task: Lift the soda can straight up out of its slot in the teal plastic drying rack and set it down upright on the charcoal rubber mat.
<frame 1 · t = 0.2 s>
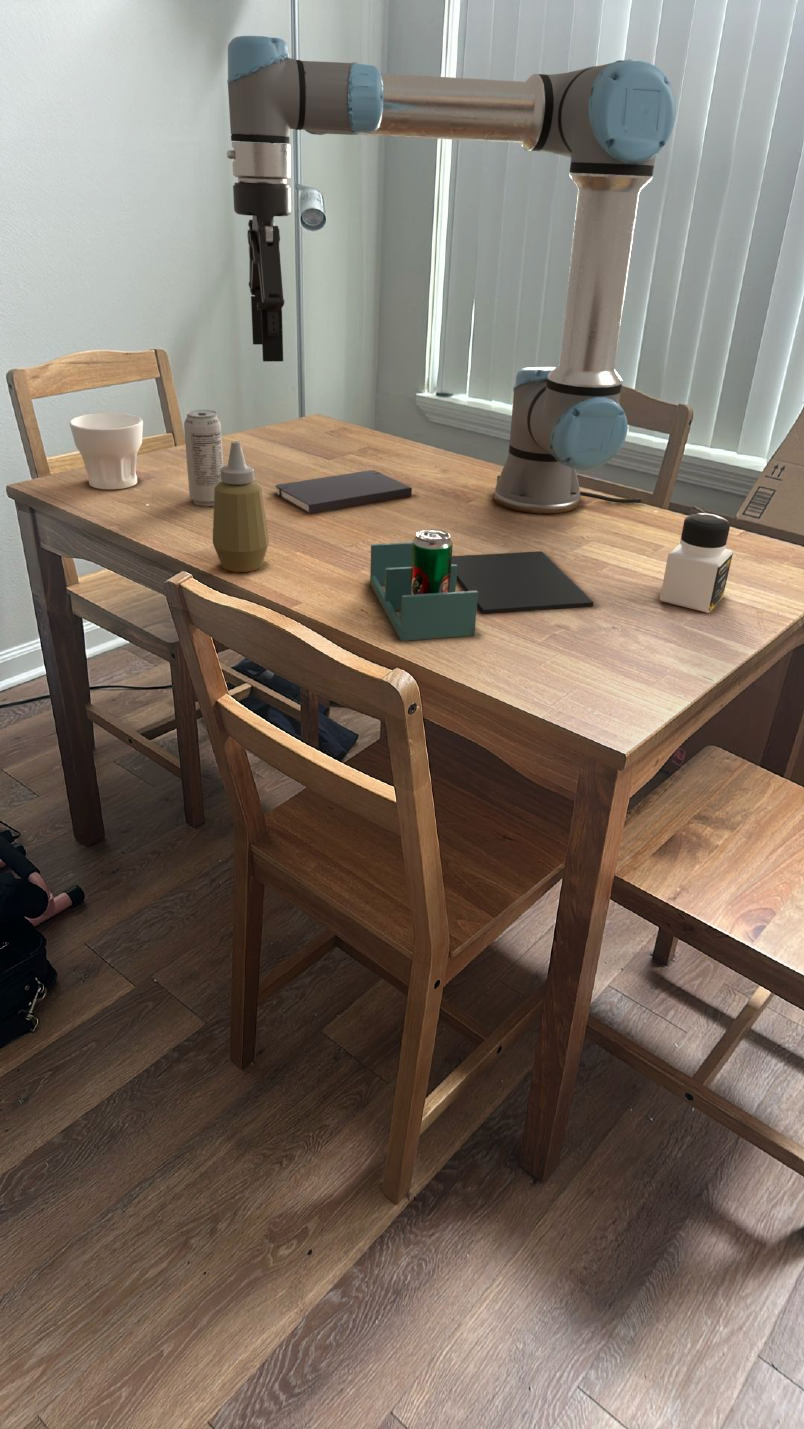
hand: (267, 352, 135), 28 cm above the table, tool pointing down, fingers open, 13 cm apart
notebook: (343, 495, 170), on the table
mat: (514, 582, 137), on the table
medicine bottle: (691, 600, 134), on the table
squeeze bottle: (242, 567, 139), on the table
cup: (113, 484, 172), on the table
drying rack: (419, 608, 128), on the table
energy drink can: (207, 502, 164), on the table
soda can: (428, 623, 124), resting in drying rack
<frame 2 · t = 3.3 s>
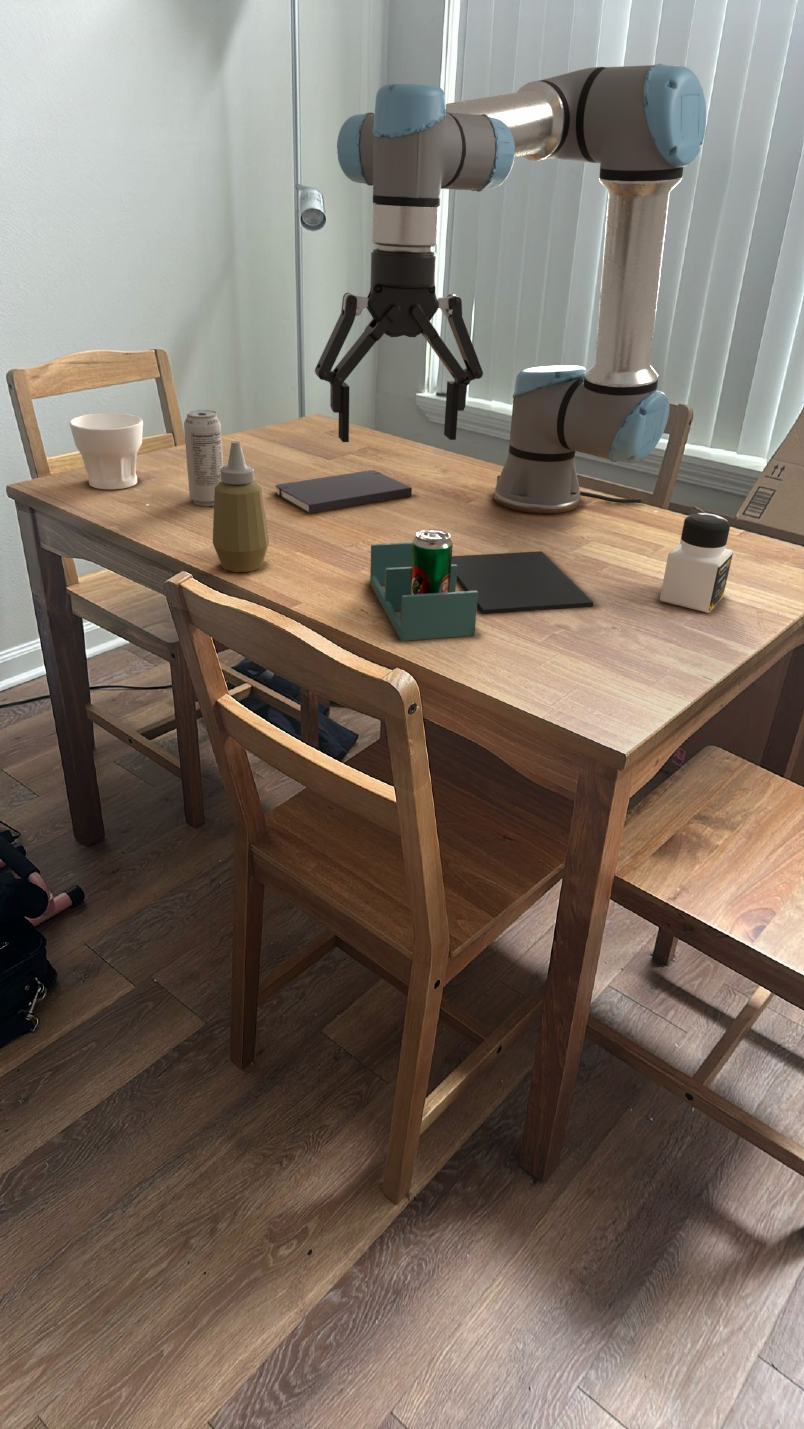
hand: (397, 438, 118), 22 cm above the table, tool pointing down, fingers open, 13 cm apart
nothing on the table moved.
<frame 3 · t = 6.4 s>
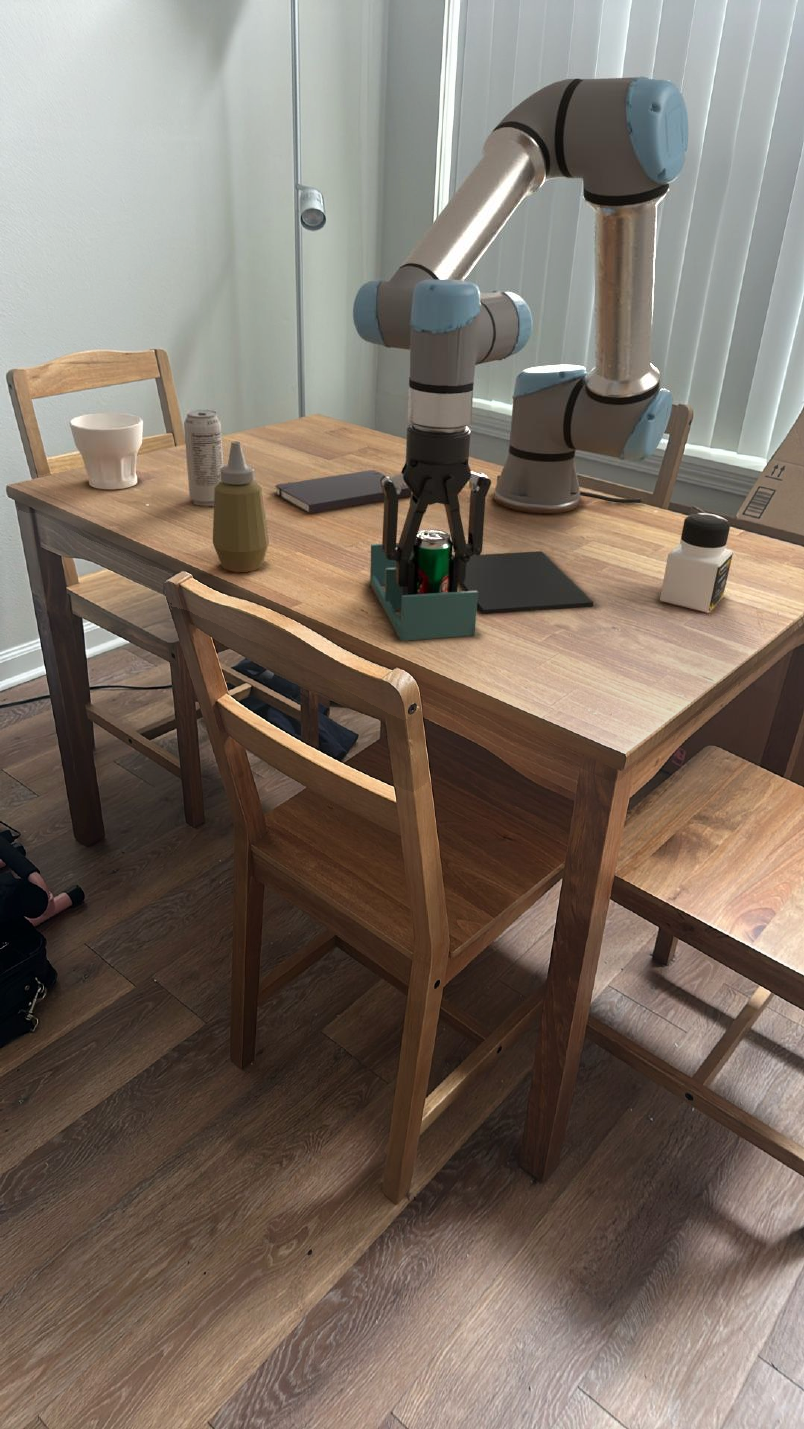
hand: (429, 606, 123), 2 cm above the table, tool pointing down, fingers closed on soda can, 5 cm apart
soda can: (428, 623, 124), resting in drying rack, touching gripper
everything else where it was.
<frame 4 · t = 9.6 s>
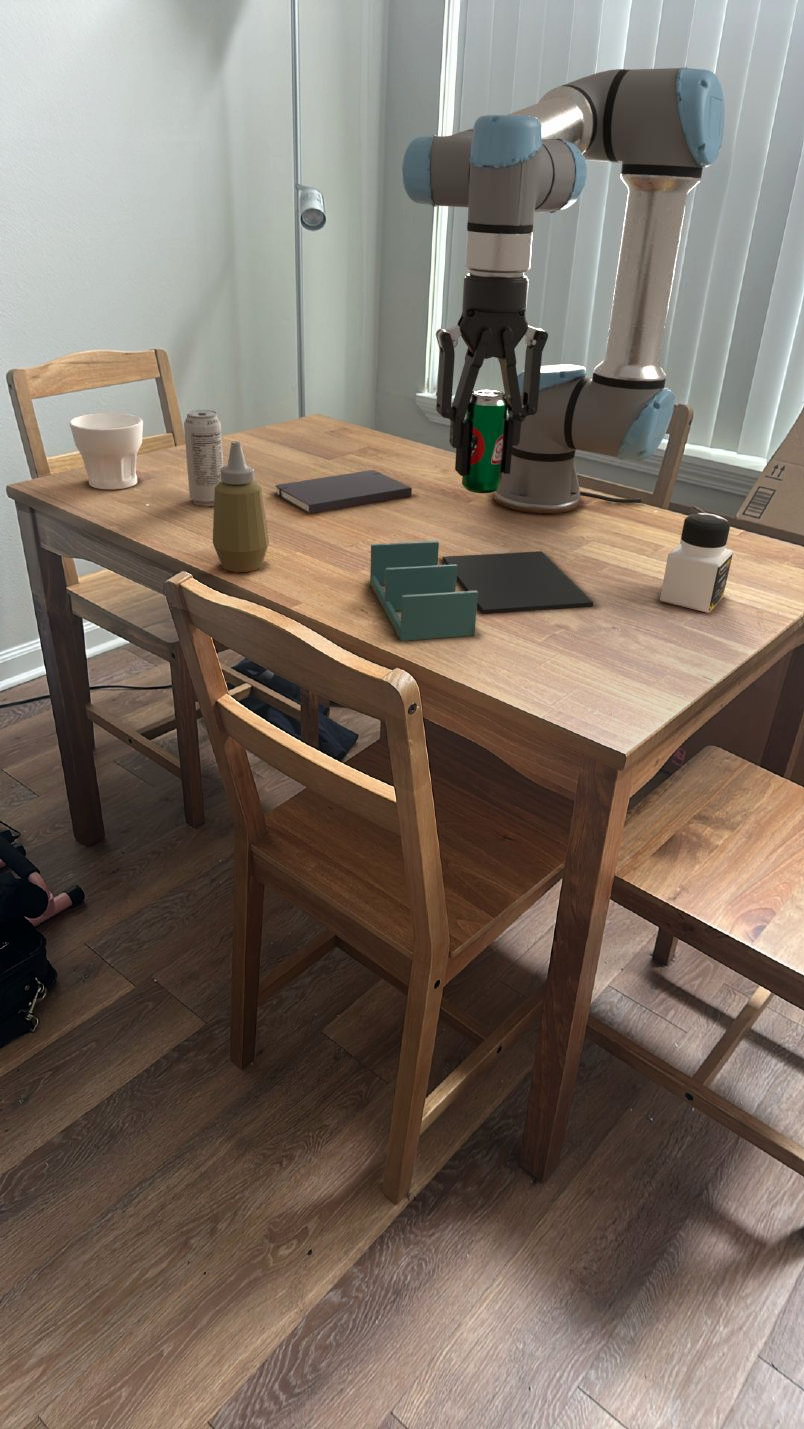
hand: (482, 471, 122), 18 cm above the table, tool pointing down, fingers closed on soda can, 5 cm apart
soda can: (481, 490, 123), point 16 cm above the table, touching gripper
everything else where it was.
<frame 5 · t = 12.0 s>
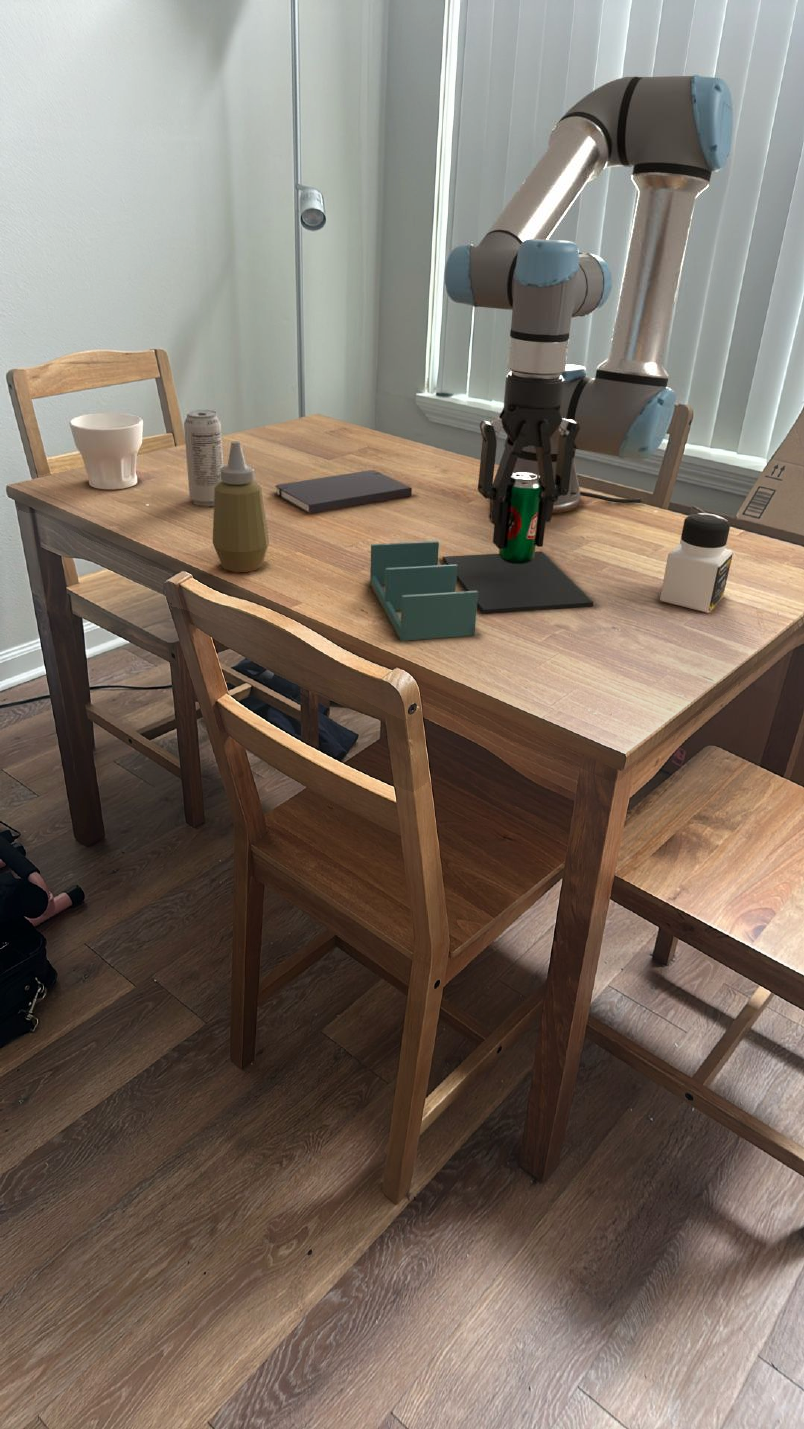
hand: (517, 544, 134), 6 cm above the table, tool pointing down, fingers closed on soda can, 5 cm apart
soda can: (516, 560, 135), point 3 cm above the table, touching gripper
everything else where it was.
when the fingers open (3 cm above the table, at t = 13.2 s): soda can stays where it is, resting on mat.
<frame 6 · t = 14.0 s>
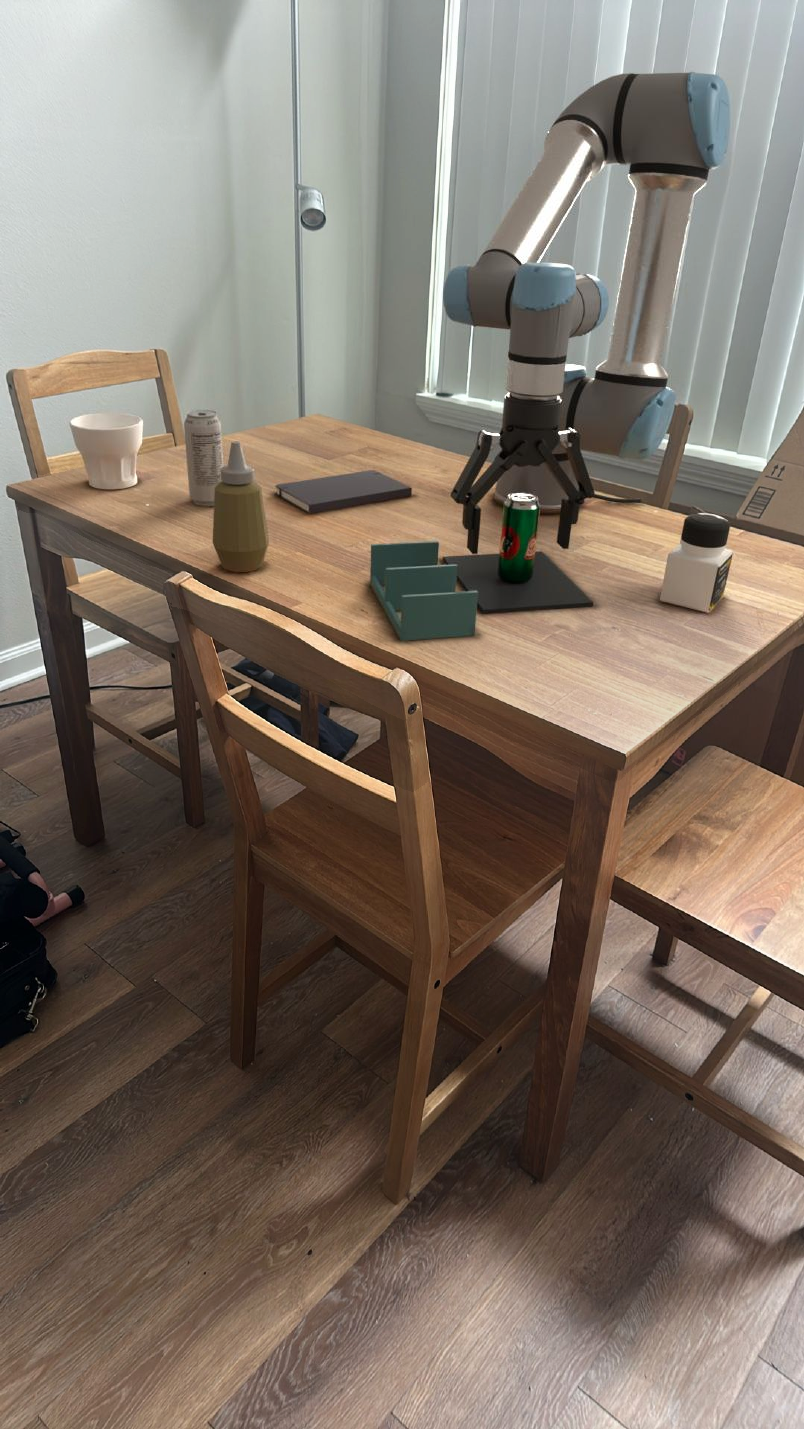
hand: (517, 548, 135), 5 cm above the table, tool pointing down, fingers open, 13 cm apart
soda can: (514, 579, 137), resting on mat
everything else where it was.
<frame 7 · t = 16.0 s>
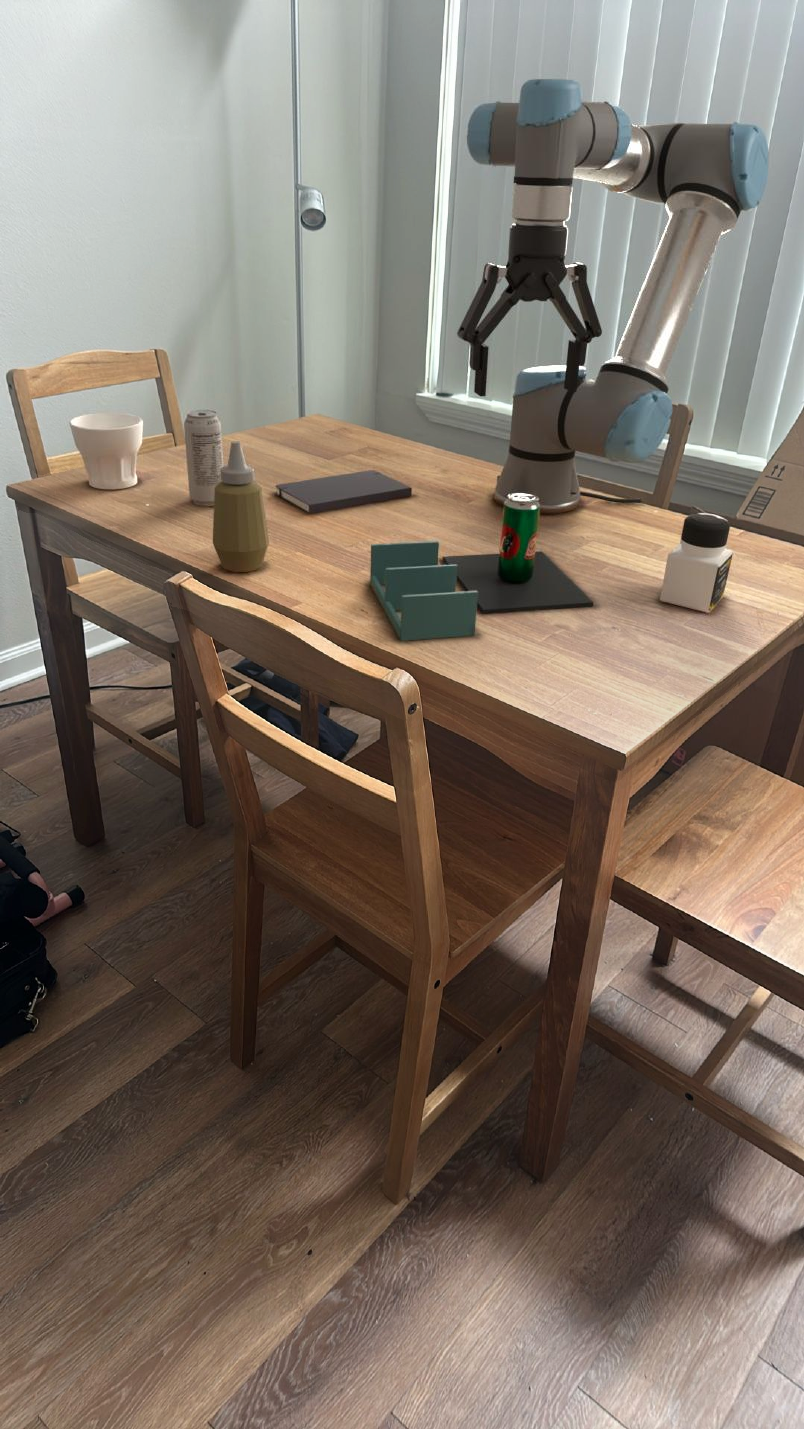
hand: (525, 392, 133), 25 cm above the table, tool pointing down, fingers open, 13 cm apart
nothing on the table moved.
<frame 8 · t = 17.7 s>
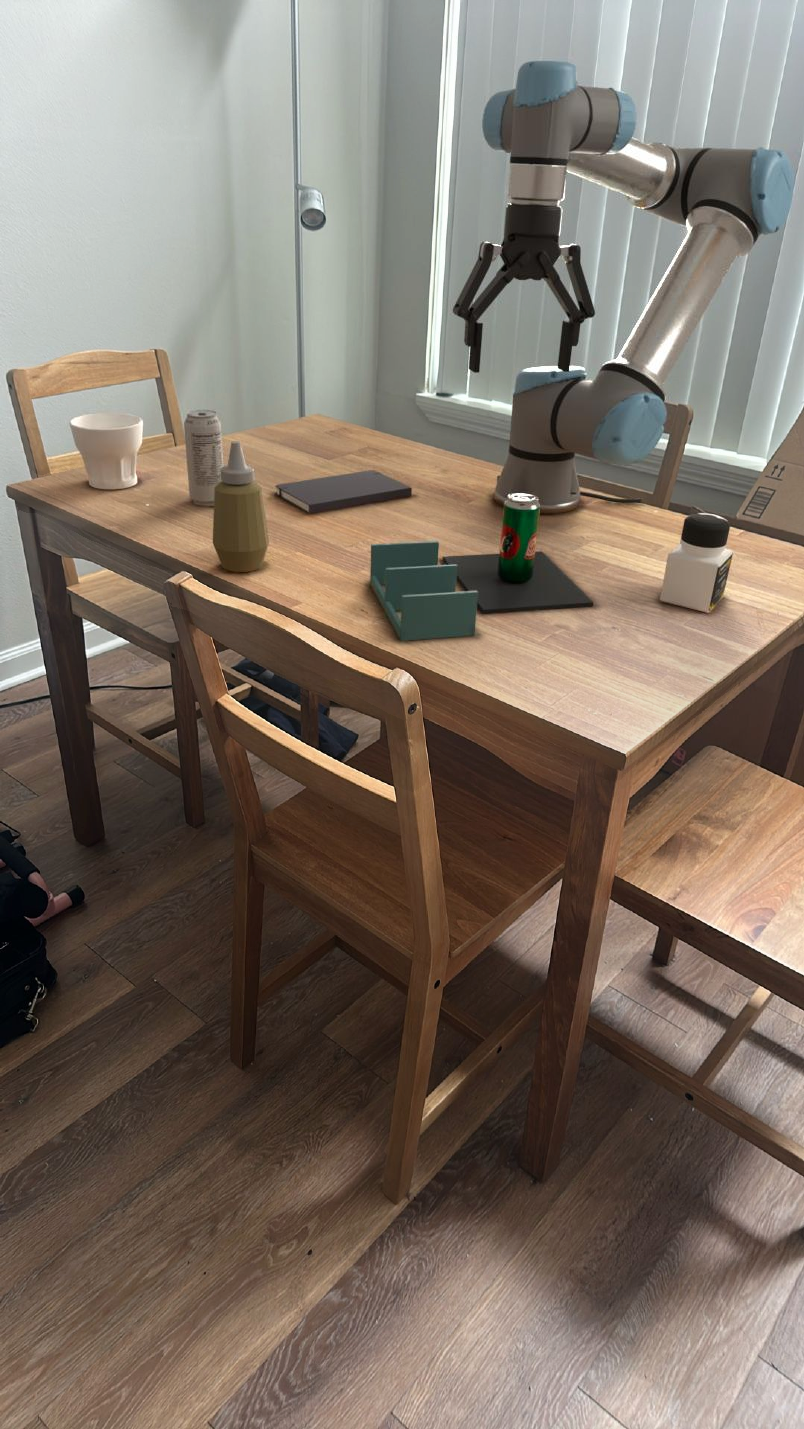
hand: (519, 370, 136), 27 cm above the table, tool pointing down, fingers open, 13 cm apart
nothing on the table moved.
at the end: soda can inside the target area on the mat (0.0 cm from its centre), point 0.4 cm above the mat's base; soda can tilted 0°; the gripper is holding nothing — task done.
